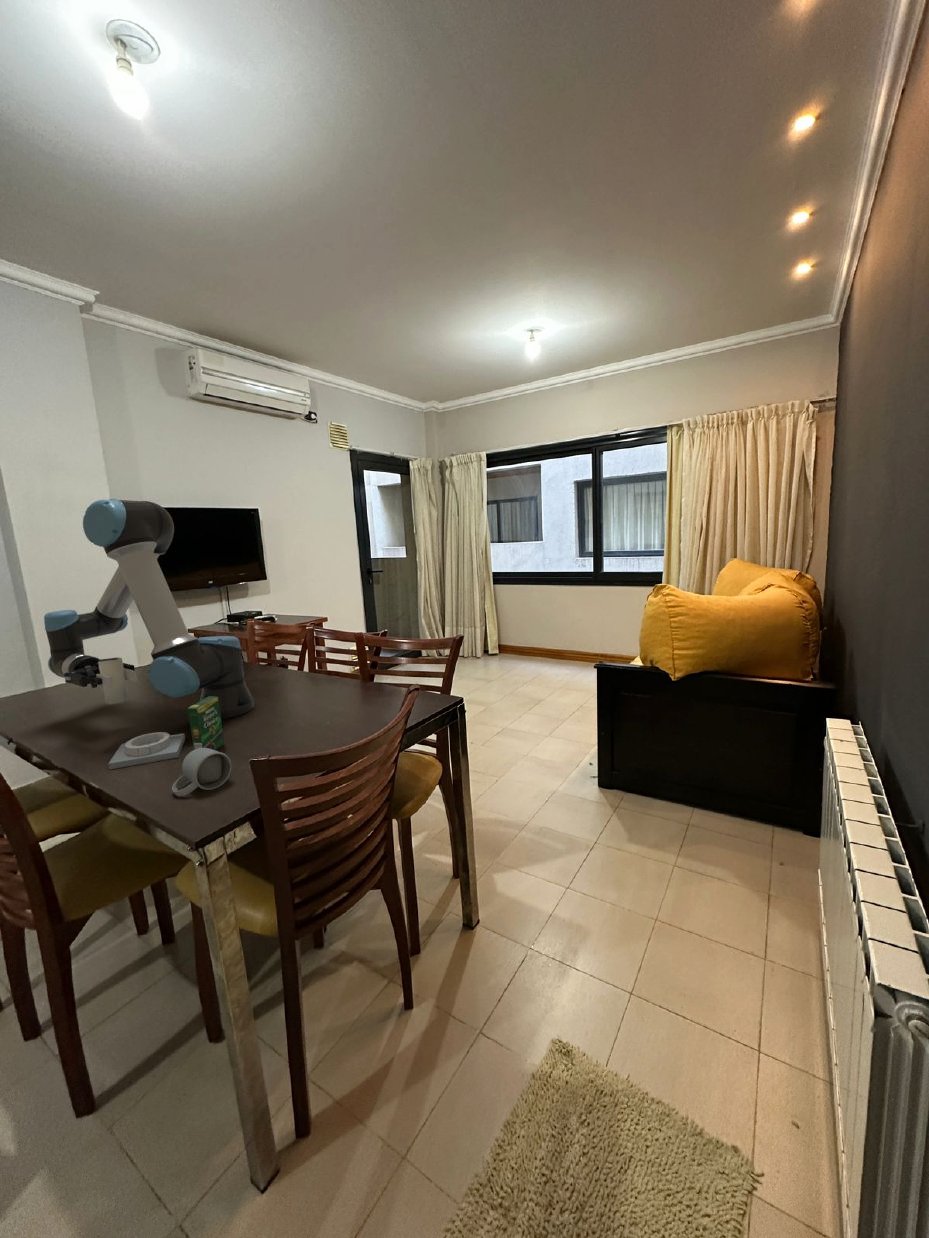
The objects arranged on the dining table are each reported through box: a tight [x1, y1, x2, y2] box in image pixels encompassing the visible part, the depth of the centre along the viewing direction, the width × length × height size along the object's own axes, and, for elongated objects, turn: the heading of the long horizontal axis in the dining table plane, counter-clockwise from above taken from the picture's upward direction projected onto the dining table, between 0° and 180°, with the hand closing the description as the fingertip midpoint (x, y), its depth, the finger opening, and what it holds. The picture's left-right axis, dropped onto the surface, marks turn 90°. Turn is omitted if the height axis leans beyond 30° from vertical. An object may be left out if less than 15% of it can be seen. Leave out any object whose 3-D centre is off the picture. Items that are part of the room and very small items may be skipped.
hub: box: [108, 731, 186, 770], centre depth 122 cm, size 14×12×4 cm
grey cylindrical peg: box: [98, 657, 130, 705], centre depth 127 cm, size 5×5×11 cm
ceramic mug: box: [171, 748, 232, 798], centre depth 105 cm, size 11×8×8 cm
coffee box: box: [187, 696, 225, 751], centre depth 120 cm, size 8×3×13 cm, turn 171°
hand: (122, 679), depth 124 cm, fingers closed on grey cylindrical peg, 5 cm apart
